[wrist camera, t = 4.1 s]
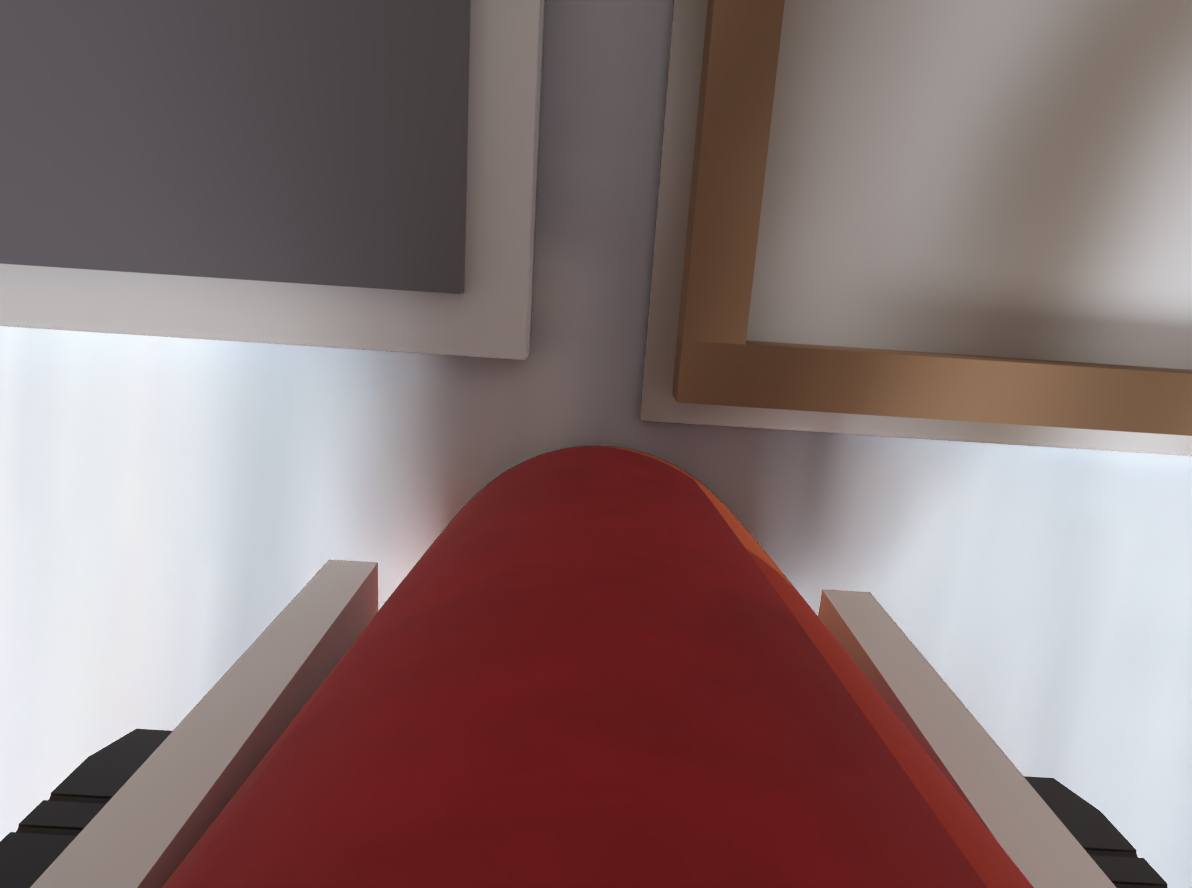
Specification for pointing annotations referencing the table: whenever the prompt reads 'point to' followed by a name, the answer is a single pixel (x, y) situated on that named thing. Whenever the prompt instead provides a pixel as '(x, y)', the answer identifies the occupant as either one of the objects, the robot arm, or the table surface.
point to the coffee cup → (596, 719)
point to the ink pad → (272, 170)
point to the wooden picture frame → (927, 221)
